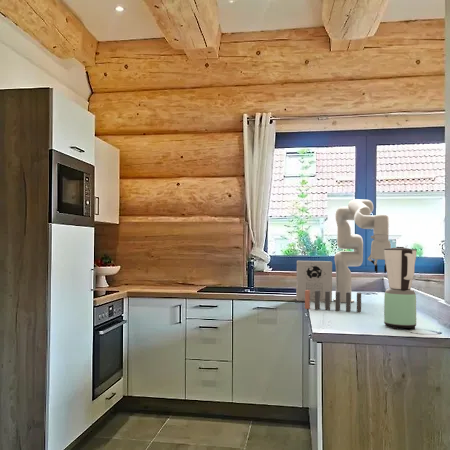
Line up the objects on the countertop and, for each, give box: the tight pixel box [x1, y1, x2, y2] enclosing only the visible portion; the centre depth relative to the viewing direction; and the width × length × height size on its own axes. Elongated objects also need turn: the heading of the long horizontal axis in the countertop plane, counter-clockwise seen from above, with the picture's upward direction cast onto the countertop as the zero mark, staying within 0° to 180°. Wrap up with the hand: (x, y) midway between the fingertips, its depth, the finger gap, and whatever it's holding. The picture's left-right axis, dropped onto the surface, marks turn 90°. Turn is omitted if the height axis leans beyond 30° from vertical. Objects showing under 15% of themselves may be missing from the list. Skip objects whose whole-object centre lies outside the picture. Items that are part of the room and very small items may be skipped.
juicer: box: [383, 246, 418, 331], centre depth 197 cm, size 19×13×35 cm
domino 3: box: [324, 291, 331, 311], centre depth 249 cm, size 5×2×10 cm, turn 160°
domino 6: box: [356, 291, 362, 313], centre depth 243 cm, size 5×2×10 cm, turn 160°
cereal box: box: [295, 260, 333, 303], centre depth 290 cm, size 22×8×25 cm, turn 84°
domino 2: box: [314, 290, 321, 311], centre depth 251 cm, size 5×2×10 cm, turn 160°
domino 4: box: [334, 291, 341, 312], centre depth 247 cm, size 5×2×10 cm, turn 160°
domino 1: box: [304, 290, 311, 310], centre depth 253 cm, size 5×2×10 cm, turn 161°
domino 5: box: [345, 291, 352, 313], centre depth 245 cm, size 5×2×10 cm, turn 160°
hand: (380, 272), depth 240 cm, fingers open, 3 cm apart
